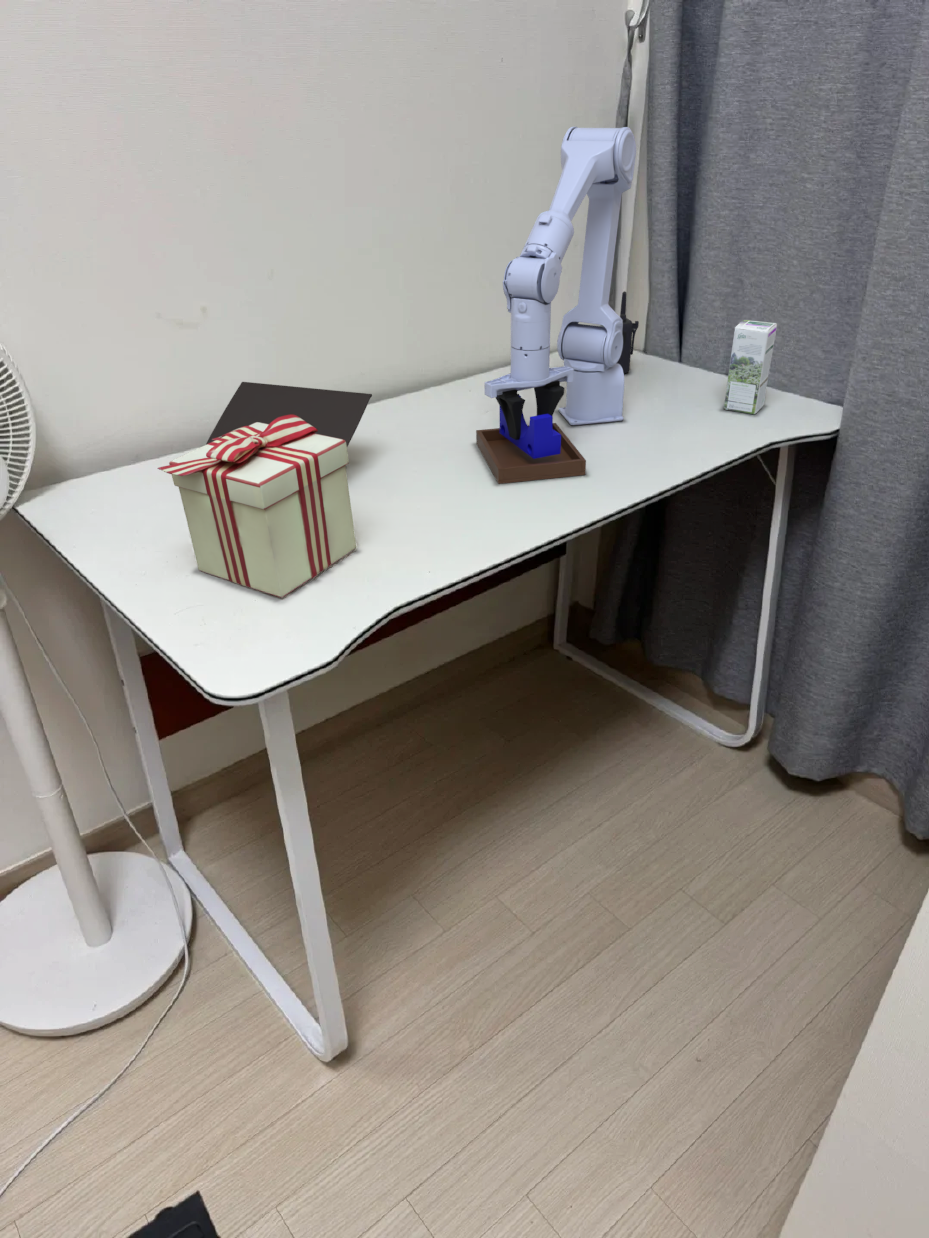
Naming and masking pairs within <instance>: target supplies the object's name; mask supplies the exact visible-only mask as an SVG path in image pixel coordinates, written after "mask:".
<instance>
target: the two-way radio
mask: <svg viewBox="0 0 929 1238" xmlns="http://www.w3.org/2000/svg"><path fill="white" fill-rule="evenodd" d="M620 302H621V303H620V312H619V316H620V318H621V319H622V320H623V322H622V323H623V329H622V335H623V348H622V353H621V356H620V358H619V360H618V362H617V364H620V365H621V367H622V369H623V373H624V375H626V373H629V372H630V365H631V356H632V355H634V354H633V353H634V346H635V338H636V337H635V336H636V332H637V330H638V328H639V326H640V325H639V324H640V323H639V320H635V321H634V322H633V321H632V320H631V319H629V318H627V314H626V313H627V292H626V291H625V290H624V291H623V292H622V294H621V301H620Z"/></svg>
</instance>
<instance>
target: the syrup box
mask: <svg viewBox="0 0 929 1238" xmlns="http://www.w3.org/2000/svg"><path fill="white" fill-rule="evenodd" d="M777 329H778V323H776V322H769V321H768V322H767V321H758V320H749V319H743V320H742V321H740V322H739V323H738V324H737V325H735V326H734V332H733V339H732V347H731V353H730V360H729V367H728V375H727V382H726V389H725V397H724V403H723V410H726V411H730V412H737V413H743V414H750V415H756V414H757V413H758V412H759V411H760V410H761V409H762V408H763V407H764V405H765V401H766V394H767V388H768V380H769V376H770V375H769V374H770V370H771V364H772V363H771V362H772V357H773V352H774V346H775V342H776V341H775V340H776V334H777Z"/></svg>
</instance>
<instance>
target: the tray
mask: <svg viewBox="0 0 929 1238" xmlns="http://www.w3.org/2000/svg"><path fill="white" fill-rule="evenodd" d="M527 426H528V427H529V424H527ZM552 429H553V430H555V431H556V432H558V433H559V434H561V450H560V454H556V455H551V456H546V457H541V458H535V459H533V458H532V457H531V456H529V455H528V454H527V453H525V452H524V451H523V450H521V449H520V448H519V447H517V446H516V445H515V444H513V443H512V442H511V441H509V440H508V439H507V438H506V437H504V436H503V435H502V434H500V427H496V428H487V429H475V435H476V436H475V437H476V439H475V440H476V441H475V442H476V443H475V444H476V446H477V448H478V449H479V452H480V453H481V455H482V457H483V459H484V460H485V462H486V464H487V466H488V468H489V470H490V471H491V473H492V475H493V477H494V479H495V481H496V482H497V484H498V485H502V484H503V485H504V484H511V483H520V482H521V483H522V482H533V481H540V480H550V479H558V478H559V479H560V478H570V477H579V476H585V475H586V470H587V469H586V468H587V460H586V458H585V457H584V456H583V454H582V453H581V452H580V451H579V450H578V448H577V447H576V446H575V445H574V443H573V442H572V441H571V439H570V438H569V437H568V436H567V435H566V433H565V432H564V431H563V429H561V427H560V426H559V424H557V423H556V422H553V426H552Z"/></svg>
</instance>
